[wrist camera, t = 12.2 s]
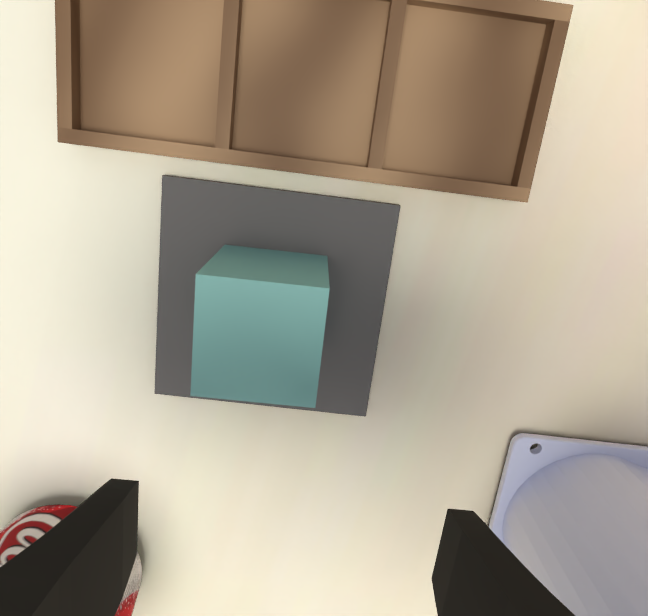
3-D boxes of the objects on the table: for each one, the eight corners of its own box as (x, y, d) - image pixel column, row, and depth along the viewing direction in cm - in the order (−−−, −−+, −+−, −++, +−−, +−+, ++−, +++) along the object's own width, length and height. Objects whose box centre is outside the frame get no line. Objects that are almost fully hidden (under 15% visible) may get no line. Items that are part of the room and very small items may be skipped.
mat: (399, 204, 20) (400, 205, 20) (364, 413, 23) (365, 416, 23) (164, 174, 20) (162, 175, 20) (156, 390, 23) (154, 393, 22)
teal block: (327, 256, 21) (329, 288, 16) (316, 350, 22) (315, 408, 17) (224, 244, 20) (195, 273, 16) (218, 340, 22) (190, 395, 17)
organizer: (560, 12, 18) (573, 5, 17) (517, 199, 20) (527, 202, 19) (67, -59, 18) (53, -72, 17) (70, 142, 20) (57, 142, 19)
